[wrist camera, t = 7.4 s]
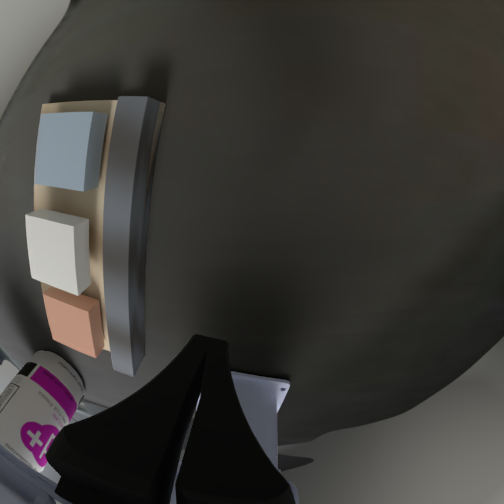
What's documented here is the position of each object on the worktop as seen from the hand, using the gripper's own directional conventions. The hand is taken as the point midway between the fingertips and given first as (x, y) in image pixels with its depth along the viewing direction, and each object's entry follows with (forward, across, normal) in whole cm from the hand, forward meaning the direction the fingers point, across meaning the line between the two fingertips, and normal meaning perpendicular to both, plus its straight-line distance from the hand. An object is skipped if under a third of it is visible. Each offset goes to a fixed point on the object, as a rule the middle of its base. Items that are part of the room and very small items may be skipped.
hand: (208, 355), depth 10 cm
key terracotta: (+8, +12, +7) cm, 17 cm away
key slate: (+8, +12, -6) cm, 16 cm away
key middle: (+7, +12, 0) cm, 14 cm away
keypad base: (+9, +12, 0) cm, 15 cm away
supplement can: (+10, +19, +20) cm, 29 cm away
